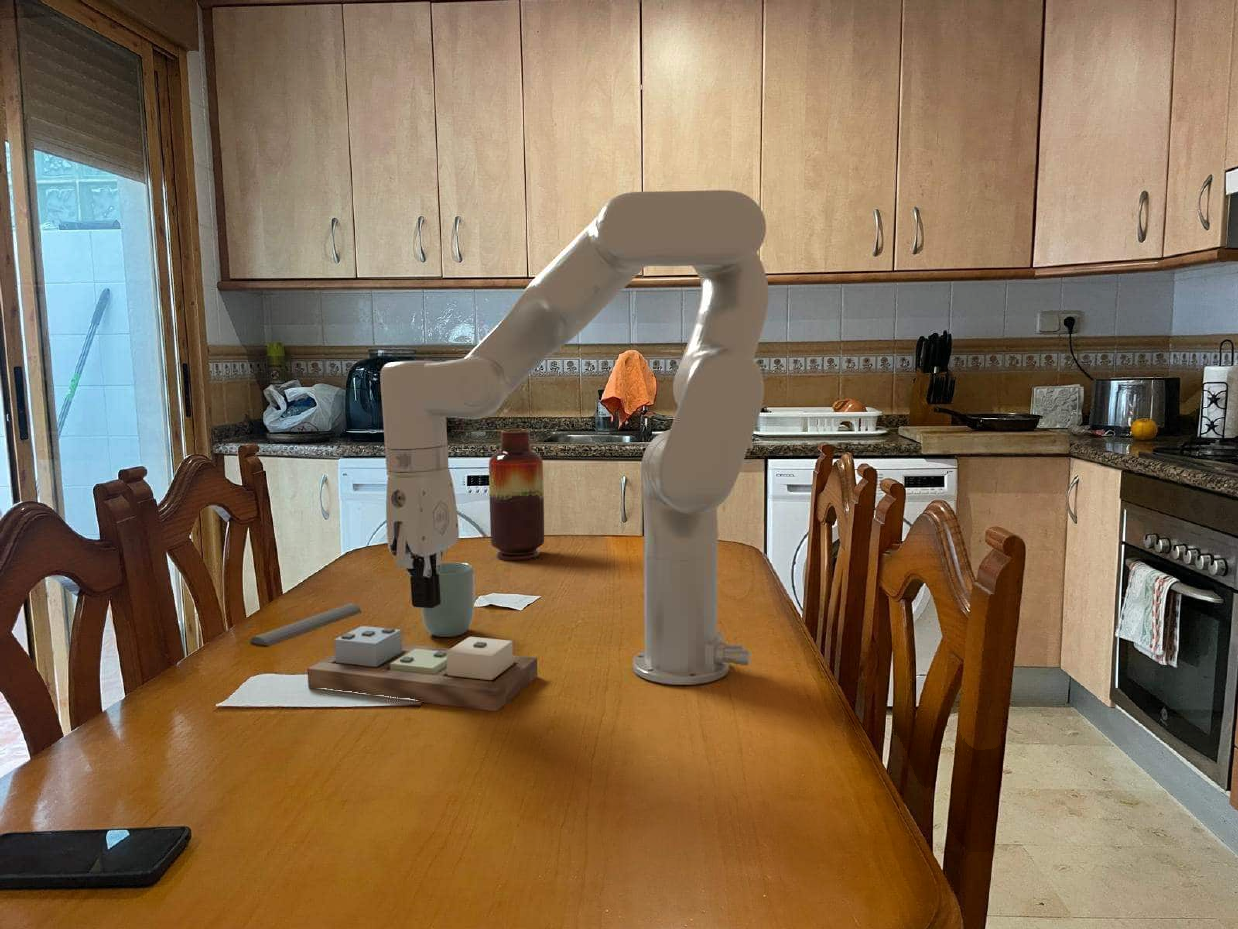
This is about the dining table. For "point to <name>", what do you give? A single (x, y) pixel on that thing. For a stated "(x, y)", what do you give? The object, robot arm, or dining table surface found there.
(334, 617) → the gray half cylinder
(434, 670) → the tile
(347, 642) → the tile
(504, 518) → the vase
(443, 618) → the cup
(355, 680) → the board
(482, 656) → the tile
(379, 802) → the dining table surface
